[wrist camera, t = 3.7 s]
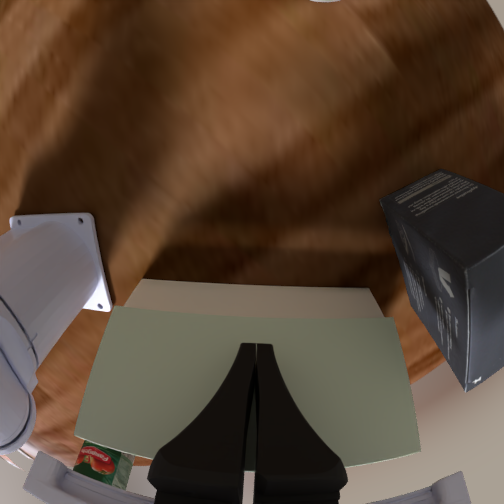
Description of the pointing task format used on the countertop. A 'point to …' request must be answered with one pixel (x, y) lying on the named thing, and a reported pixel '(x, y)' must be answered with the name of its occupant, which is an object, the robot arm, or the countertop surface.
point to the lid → (292, 370)
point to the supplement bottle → (325, 0)
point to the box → (454, 267)
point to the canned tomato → (104, 464)
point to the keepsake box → (254, 300)
